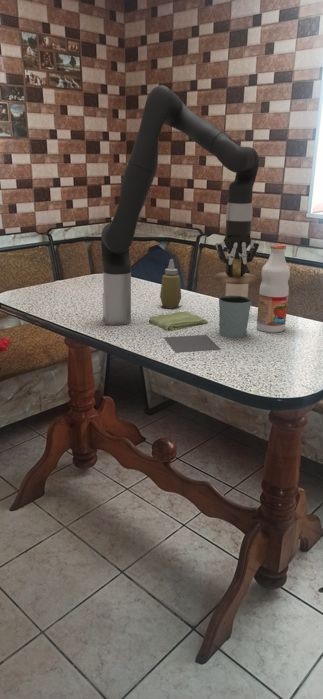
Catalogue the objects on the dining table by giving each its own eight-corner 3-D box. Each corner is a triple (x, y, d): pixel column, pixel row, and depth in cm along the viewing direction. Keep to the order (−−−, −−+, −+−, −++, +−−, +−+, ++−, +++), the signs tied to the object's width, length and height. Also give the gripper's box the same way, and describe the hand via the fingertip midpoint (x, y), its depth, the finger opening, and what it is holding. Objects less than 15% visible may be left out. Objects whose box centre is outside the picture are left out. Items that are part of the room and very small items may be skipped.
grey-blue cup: (214, 338, 166) (216, 301, 162) (220, 328, 175) (222, 293, 171) (246, 341, 163) (249, 304, 159) (250, 332, 172) (253, 296, 168)
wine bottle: (220, 316, 189) (225, 231, 178) (228, 311, 196) (233, 229, 185) (242, 320, 185) (248, 233, 175) (249, 314, 192) (256, 231, 182)
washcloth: (210, 325, 179) (210, 316, 178) (168, 334, 170) (169, 325, 168) (186, 316, 189) (186, 308, 188) (145, 324, 179) (145, 315, 178)
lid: (222, 285, 155) (223, 264, 153) (208, 275, 167) (209, 256, 165) (263, 283, 158) (264, 263, 156) (246, 274, 169) (248, 255, 167)
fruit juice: (261, 323, 182) (268, 241, 173) (288, 327, 178) (297, 244, 168) (252, 330, 174) (259, 245, 165) (279, 334, 170) (288, 248, 161)
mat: (175, 354, 151) (175, 352, 151) (163, 339, 164) (163, 337, 164) (221, 351, 154) (221, 349, 154) (206, 336, 167) (206, 334, 167)
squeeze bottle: (181, 304, 204) (183, 258, 198) (180, 309, 196) (181, 261, 190) (160, 303, 204) (161, 257, 198) (158, 308, 197) (159, 261, 191)
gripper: (220, 220, 151) (217, 279, 157) (266, 219, 154) (261, 277, 160) (212, 217, 158) (209, 274, 164) (255, 217, 161) (252, 272, 167)
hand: (235, 275), depth 162 cm, fingers closed on lid, 3 cm apart
